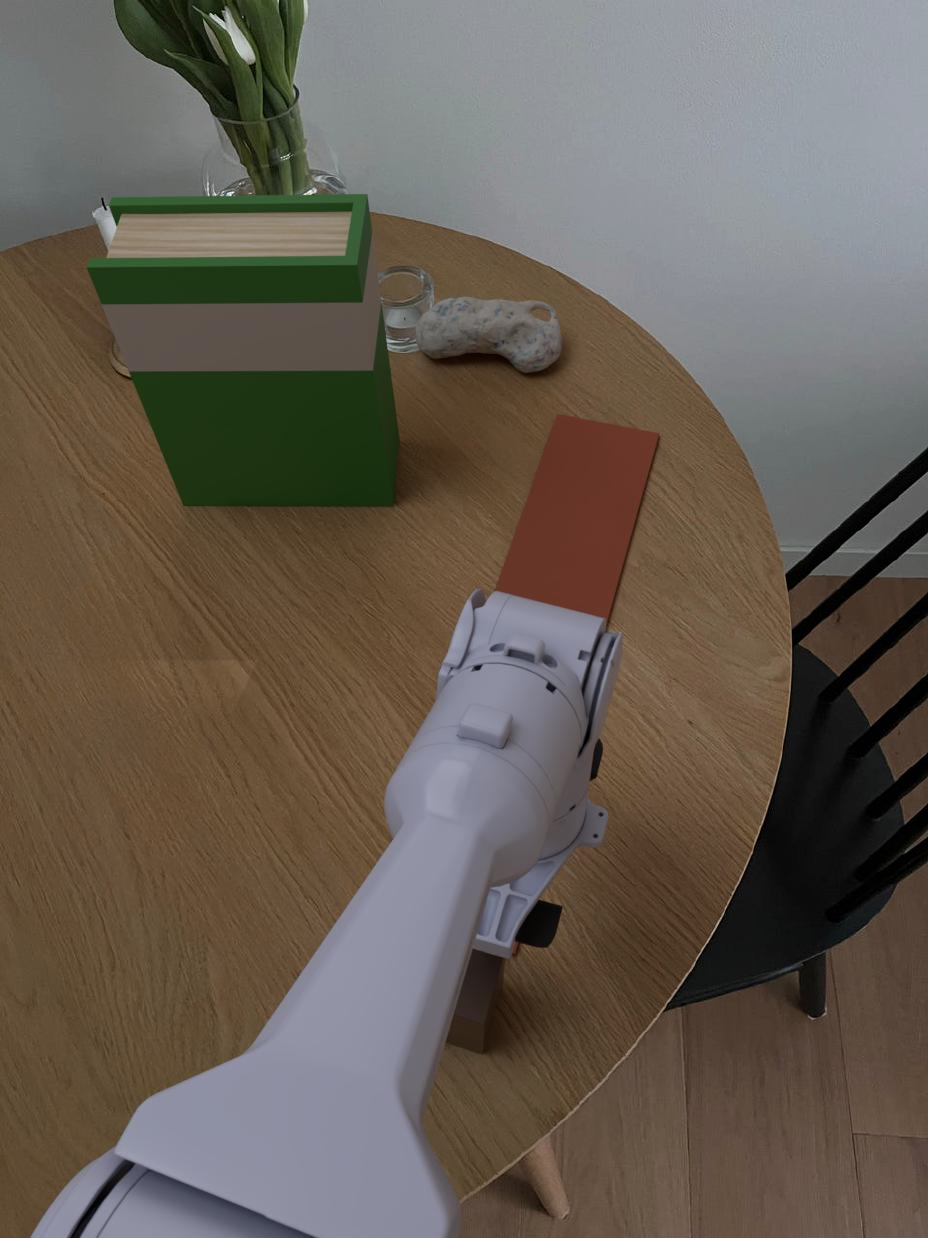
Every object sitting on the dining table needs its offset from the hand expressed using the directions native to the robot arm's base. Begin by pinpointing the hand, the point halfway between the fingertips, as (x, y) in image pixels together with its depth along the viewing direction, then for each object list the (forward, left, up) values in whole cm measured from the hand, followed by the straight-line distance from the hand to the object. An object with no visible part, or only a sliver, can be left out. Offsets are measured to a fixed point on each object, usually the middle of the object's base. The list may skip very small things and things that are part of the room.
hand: (527, 871), depth 62 cm
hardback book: (+31, +29, -8) cm, 43 cm away
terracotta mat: (+20, +5, -7) cm, 22 cm away
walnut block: (-7, +3, -7) cm, 10 cm away
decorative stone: (+49, +17, -8) cm, 53 cm away
